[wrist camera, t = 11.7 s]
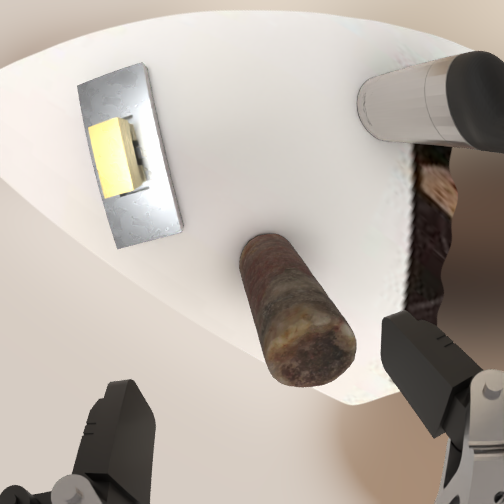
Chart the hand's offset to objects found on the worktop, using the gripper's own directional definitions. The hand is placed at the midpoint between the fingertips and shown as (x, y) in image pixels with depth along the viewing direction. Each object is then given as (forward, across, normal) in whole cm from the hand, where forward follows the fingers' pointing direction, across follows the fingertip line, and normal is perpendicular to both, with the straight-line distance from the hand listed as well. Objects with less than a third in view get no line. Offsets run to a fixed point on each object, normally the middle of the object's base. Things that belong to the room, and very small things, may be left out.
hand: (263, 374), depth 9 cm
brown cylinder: (+30, -4, +9) cm, 32 cm away
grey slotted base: (+30, +9, -8) cm, 32 cm away
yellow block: (+30, +9, -8) cm, 32 cm away
